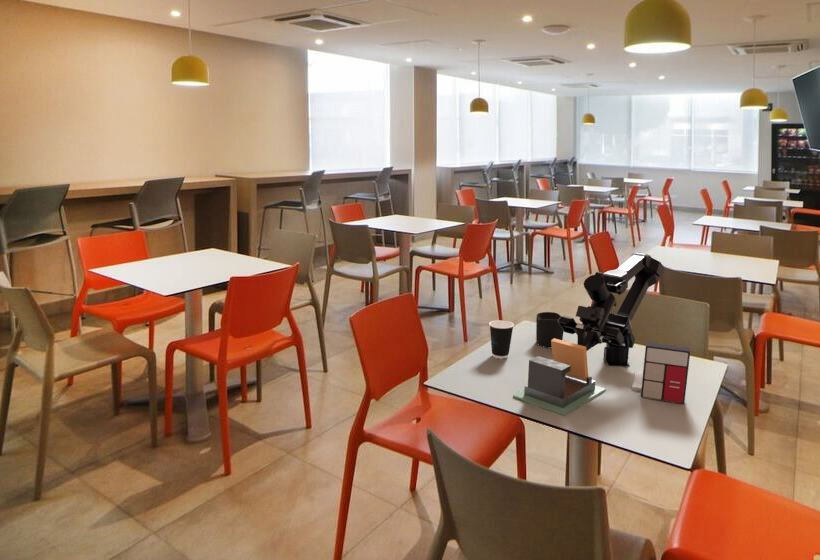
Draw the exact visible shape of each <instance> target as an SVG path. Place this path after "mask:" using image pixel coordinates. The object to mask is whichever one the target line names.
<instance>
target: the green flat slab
mask: <svg viewBox="0 0 820 560" xmlns="http://www.w3.org/2000/svg"><path fill="white" fill-rule="evenodd" d="M604 392H606V388H604V387H601V386H598V385H595V390H593V391H591V392H589V393H588V394H586V395H584V396H583V397H581V398H579V399H578V400H576V401H574V402H572V403H571V404H569V405H567V406H566V407H564V408H561V407H558V406H555V405H552V404H549V403H546V402H544V401H541V400H538V399H535V398H532V397H529V396H526V395H524V389H522V390H521V391H519V392H517V393H514V394H513V395H512V398H514V399H517V400H519V401H522V402H526V403H527V404H531V405H534V406H536V407H538V408H539V407H540V408H542V409H546V410H548V411H551V412H554V413H556V414H559V415H562V416H565V417H566V416H567V415H568V414H570V413H571V412H573V411H575V410H576V409H578V408H579V407H582V405H585V404H586V403H588V402H589V400H590V401H591V400H593V399H595V398H596V397H598V396H599V395H601V394H602V393H604ZM597 395H598V396H597ZM594 397H595V398H594ZM584 403H585V404H584Z"/></svg>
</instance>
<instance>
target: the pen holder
mask: <svg viewBox="0 0 820 560" xmlns="http://www.w3.org/2000/svg"><path fill="white" fill-rule="evenodd" d="M561 316H562V315H561V314H559V313H557V312H553V311H544V312H538V313H537V314H536V320H535V321H536V323H535V324H536V328H535V329H536V330H535V331H536V333H535V339H536V340H535V341H536V344H537V345H538V344H539V345H538V346H540V345H541V346H540V347H543V346H544V347H543V348H548V347H552V346H551V340H552V339H554V338H555V339H559V340H562V341H564V339H563V337H564V331H563V330H562V329H561V327H560V326H559V324H558V323H557V322H558V320H559V318H560V317H561Z"/></svg>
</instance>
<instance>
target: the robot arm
mask: <svg viewBox="0 0 820 560" xmlns="http://www.w3.org/2000/svg"><path fill="white" fill-rule="evenodd" d="M664 272H665V267H664V265H663V264H662V262H661V261H659V260H657V259H655V258H654V257H652V255H650V254H647V253H641V252H633V253H632V254H631V257H629V258H628V259H627V260H625V262H624V263H623V264H621V265H620V266H618V268H616V269H611V270H607V271H606V272H599V271H596V272H595V274H592V275H590V276H588V277H587V278H585V279H584V281H583V287H584V289H585V291H586V292H587V295H588V297H589V298H590V300H591V301H592V303H591V304H590V305H588V306H584V305H583V306H582V305H578V307H577V309H576V313H575V317H578V318H579V321H580V322H581V323H580V322H576V320H575V318H574V317H570V316H567V315H560V316H561V317H560V318H559V320H558V322H557V323H558V324H559V326H560V327H561V329H562V330H563V333H566V334H569V335H570V334H571V335H574V334H576V336H577V342H576V343H577V344H578V345H581V346H585V347H586V352H588V351H589V350H591V349H592V348H593V347H595V346H597V345H602V343H603V344H606V345H605V346H604V348H603V360H604V361H605V363H606V364H607V365H608V366H610V367H629V366H630V363H629V353H630V352H629V350H630V349H632V348H634V345H635V341H636V338H635V335H634V334H633V327H632V321H633V319H634V316H635V315H636V312H637V310H638V309H639V307H640V305H641V303H642V301H643V299H644V297H645V295H646V293H647V291H648V289H649V288H650V287H652V286H654V285H656V284H658V282H659V280H661V278H662V277H663V276H664V274H665V273H664ZM633 278H634V280H633V281H632V282H633V283H632V284H631V285H630V288H629V281H630V280H632V279H633ZM628 288H629V290H628V292H627V293H626V295H625V297H624V299H623V301H622V303H621V304H620V306H619V308H618V310H617V312H616V313H612V312H611V311H612V309H613V307H617V306H618V305H617V300H616V297H615V296H614V294H615V295H619V296H620V295H623V294H624V293H625V292H626V290H627V289H628Z"/></svg>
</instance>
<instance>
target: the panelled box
mask: <svg viewBox="0 0 820 560" xmlns="http://www.w3.org/2000/svg"><path fill="white" fill-rule="evenodd" d="M690 357H691V348H690V347H689V346H683V345H673V344H665V343H656V342H646V344H645V352H644V361H643V371H642V373H643V379H642V389H641V391H640V397H641V398H643V399H649V400H654V399H655V400H656V401H661V402H667V401H668V402H667V403H673V402H674V403H673V404H679V403H681V404H680V405H684V404H685V402H686V400H685V399H686V391H687V382H688V377H689V376H688V373H689V367H690Z"/></svg>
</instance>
